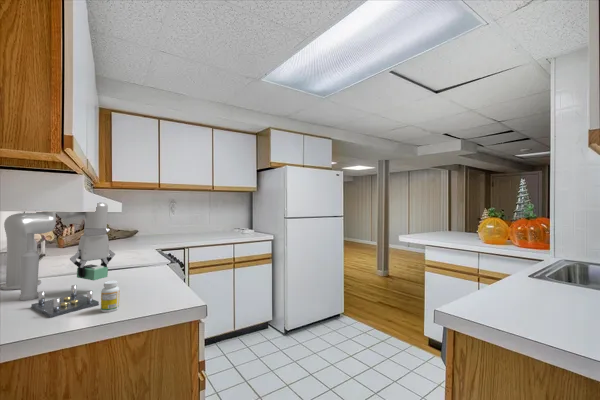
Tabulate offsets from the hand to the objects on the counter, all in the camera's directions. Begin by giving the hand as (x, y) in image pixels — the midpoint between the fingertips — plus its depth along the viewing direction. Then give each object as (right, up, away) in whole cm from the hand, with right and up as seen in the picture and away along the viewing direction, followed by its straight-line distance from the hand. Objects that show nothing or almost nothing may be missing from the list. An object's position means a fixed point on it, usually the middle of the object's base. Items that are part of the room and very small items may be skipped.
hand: (92, 274), depth 118 cm
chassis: (+2, -7, -16) cm, 18 cm away
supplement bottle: (+19, -8, -18) cm, 28 cm away
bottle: (-18, -7, -9) cm, 21 cm away
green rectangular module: (0, -1, 0) cm, 1 cm away
